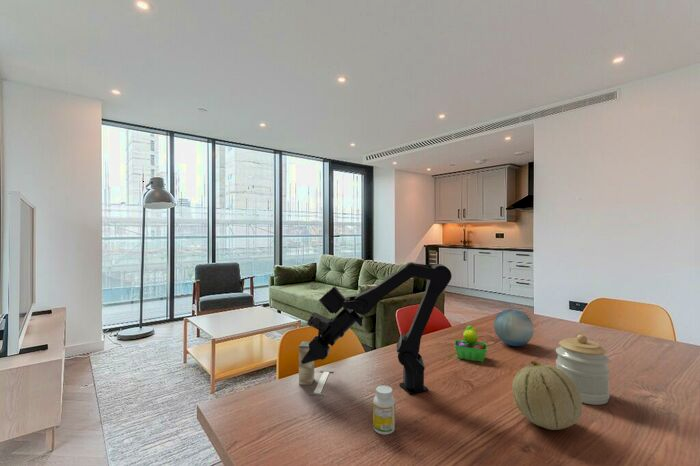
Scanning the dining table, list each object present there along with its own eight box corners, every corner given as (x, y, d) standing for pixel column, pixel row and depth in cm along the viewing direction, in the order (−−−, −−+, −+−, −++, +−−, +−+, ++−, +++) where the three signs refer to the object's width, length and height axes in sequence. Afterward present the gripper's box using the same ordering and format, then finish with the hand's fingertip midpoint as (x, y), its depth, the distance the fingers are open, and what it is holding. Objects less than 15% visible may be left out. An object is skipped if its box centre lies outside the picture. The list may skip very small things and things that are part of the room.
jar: (594, 410, 86) (595, 345, 86) (546, 389, 98) (546, 331, 97) (618, 399, 92) (619, 337, 92) (570, 380, 104) (570, 325, 103)
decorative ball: (534, 343, 137) (534, 308, 137) (532, 354, 125) (532, 316, 125) (496, 336, 145) (496, 303, 145) (491, 347, 133) (491, 310, 133)
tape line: (320, 370, 110) (320, 370, 110) (333, 371, 109) (333, 371, 109) (308, 394, 94) (308, 394, 94) (323, 395, 93) (323, 395, 93)
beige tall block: (314, 378, 104) (314, 342, 104) (311, 384, 100) (311, 346, 100) (302, 378, 104) (302, 341, 104) (298, 384, 100) (298, 345, 100)
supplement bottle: (387, 438, 74) (387, 397, 74) (368, 429, 78) (368, 389, 78) (399, 427, 78) (399, 388, 78) (381, 419, 82) (381, 381, 82)
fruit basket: (454, 359, 120) (454, 329, 120) (455, 351, 128) (455, 322, 128) (487, 364, 116) (487, 332, 116) (486, 355, 124) (486, 326, 124)
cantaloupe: (584, 452, 70) (584, 383, 70) (509, 430, 78) (509, 368, 77) (579, 418, 82) (579, 360, 82) (514, 402, 90) (515, 349, 90)
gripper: (328, 298, 110) (297, 329, 112) (316, 312, 92) (278, 348, 93) (351, 322, 110) (319, 352, 111) (343, 341, 91) (304, 377, 93)
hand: (306, 356), depth 102 cm, fingers open, 9 cm apart
